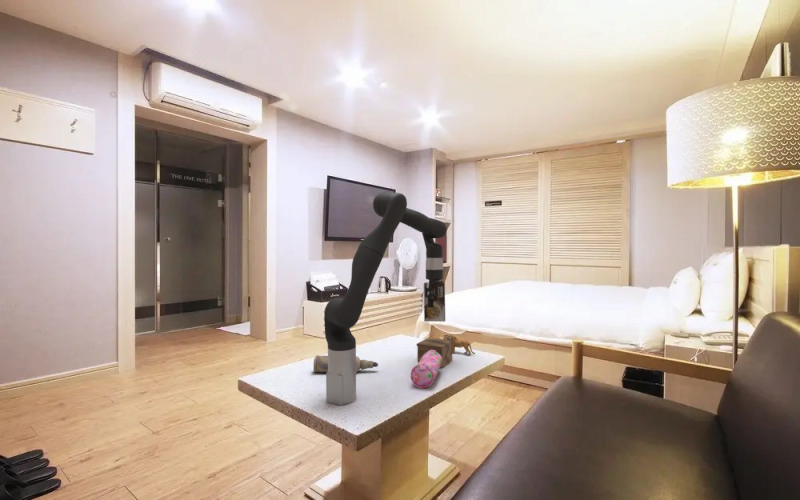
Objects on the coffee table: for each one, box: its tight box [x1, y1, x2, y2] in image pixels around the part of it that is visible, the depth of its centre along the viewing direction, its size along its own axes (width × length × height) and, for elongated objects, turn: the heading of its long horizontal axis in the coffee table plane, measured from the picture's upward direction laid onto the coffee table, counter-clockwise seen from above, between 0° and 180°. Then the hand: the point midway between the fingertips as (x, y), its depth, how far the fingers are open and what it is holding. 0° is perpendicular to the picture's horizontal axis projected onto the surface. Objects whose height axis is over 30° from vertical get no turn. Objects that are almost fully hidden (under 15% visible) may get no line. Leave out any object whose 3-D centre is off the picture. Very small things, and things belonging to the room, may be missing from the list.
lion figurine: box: [443, 333, 476, 357], centre depth 173 cm, size 15×5×9 cm, turn 71°
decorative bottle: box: [313, 355, 379, 374], centre depth 150 cm, size 26×8×7 cm, turn 88°
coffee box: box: [423, 281, 446, 323], centre depth 160 cm, size 9×6×16 cm
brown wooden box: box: [416, 336, 453, 370], centre depth 160 cm, size 13×12×9 cm
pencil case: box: [410, 350, 442, 389], centre depth 141 cm, size 21×9×9 cm, turn 164°
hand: (434, 306), depth 160 cm, fingers closed on coffee box, 8 cm apart
